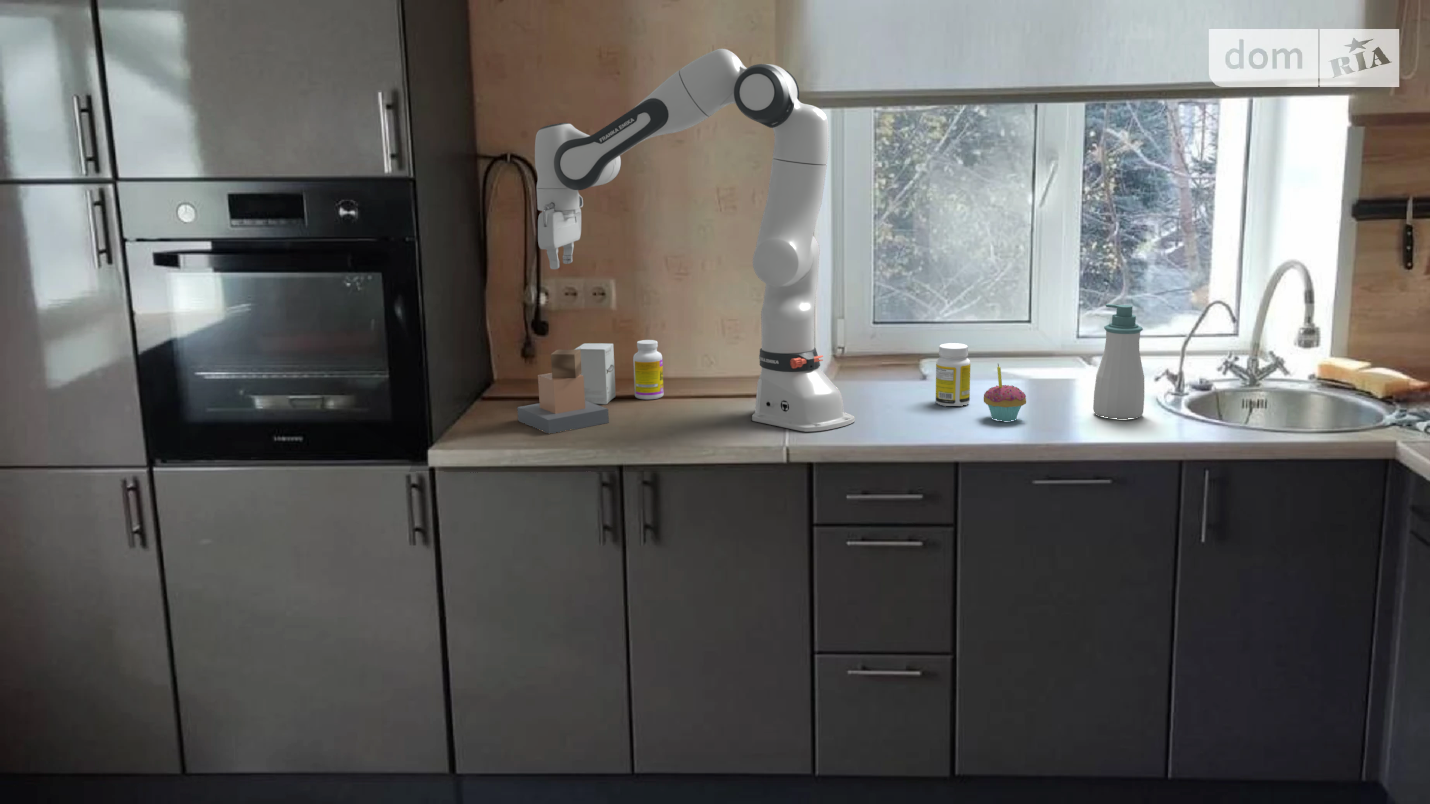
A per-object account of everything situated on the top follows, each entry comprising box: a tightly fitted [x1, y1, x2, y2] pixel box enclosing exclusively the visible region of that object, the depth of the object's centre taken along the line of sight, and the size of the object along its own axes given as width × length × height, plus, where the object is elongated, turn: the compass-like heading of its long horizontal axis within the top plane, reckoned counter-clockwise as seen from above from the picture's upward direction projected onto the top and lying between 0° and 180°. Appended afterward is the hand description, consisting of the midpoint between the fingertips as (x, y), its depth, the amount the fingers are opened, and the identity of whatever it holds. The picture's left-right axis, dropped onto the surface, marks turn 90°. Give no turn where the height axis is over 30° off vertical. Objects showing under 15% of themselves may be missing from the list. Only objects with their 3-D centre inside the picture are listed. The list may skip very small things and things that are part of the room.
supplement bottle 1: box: [632, 339, 665, 401], centre depth 260 cm, size 7×7×13 cm
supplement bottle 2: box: [935, 342, 971, 407], centre depth 247 cm, size 7×7×13 cm
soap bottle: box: [1092, 303, 1145, 419], centre depth 233 cm, size 10×10×23 cm
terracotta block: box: [537, 372, 585, 414], centre depth 239 cm, size 7×7×7 cm
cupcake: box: [983, 363, 1027, 421], centre depth 234 cm, size 9×8×12 cm
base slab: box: [517, 401, 610, 434], centre depth 241 cm, size 14×14×3 cm
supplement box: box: [573, 342, 616, 405], centre depth 257 cm, size 7×7×13 cm
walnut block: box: [550, 349, 582, 378], centre depth 238 cm, size 5×5×5 cm
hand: (561, 266), depth 248 cm, fingers open, 8 cm apart
